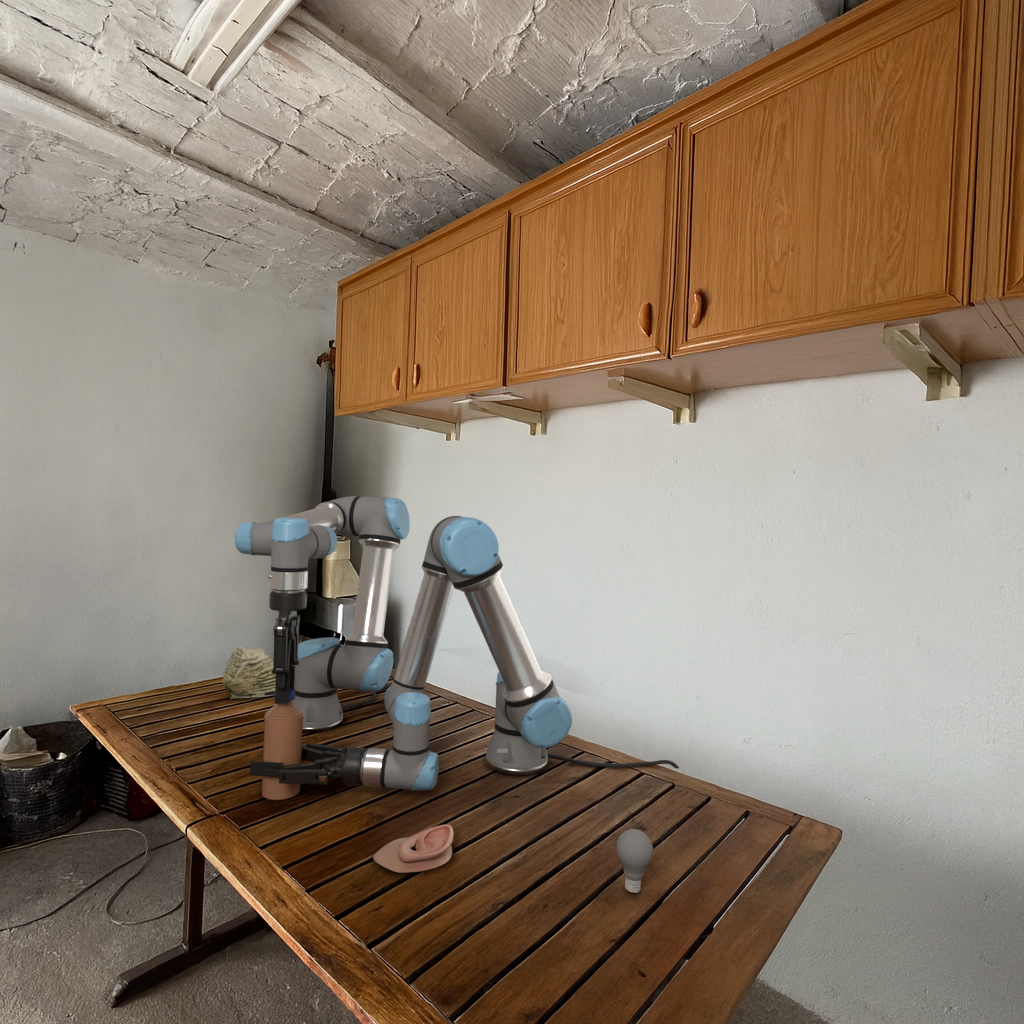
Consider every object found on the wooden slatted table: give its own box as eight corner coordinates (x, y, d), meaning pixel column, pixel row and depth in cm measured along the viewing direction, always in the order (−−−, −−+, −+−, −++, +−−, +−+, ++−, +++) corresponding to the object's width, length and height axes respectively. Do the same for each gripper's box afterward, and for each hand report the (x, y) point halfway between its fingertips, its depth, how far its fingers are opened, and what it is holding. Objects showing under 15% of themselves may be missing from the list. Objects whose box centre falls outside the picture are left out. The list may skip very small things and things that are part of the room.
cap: (286, 694, 138) (286, 687, 138) (299, 698, 136) (299, 690, 136) (269, 699, 134) (270, 691, 134) (283, 703, 132) (283, 695, 132)
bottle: (284, 780, 141) (287, 685, 140) (308, 789, 137) (311, 692, 136) (253, 793, 134) (257, 693, 134) (278, 803, 130) (281, 701, 130)
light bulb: (610, 879, 108) (613, 822, 108) (644, 879, 109) (647, 822, 109) (619, 902, 102) (622, 840, 102) (655, 901, 103) (658, 840, 103)
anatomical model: (366, 844, 109) (392, 812, 120) (365, 867, 109) (391, 833, 120) (440, 856, 106) (459, 823, 117) (439, 880, 106) (458, 844, 117)
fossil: (218, 695, 195) (220, 647, 195) (278, 685, 208) (279, 640, 207) (228, 703, 189) (230, 653, 188) (289, 692, 201) (290, 645, 201)
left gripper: (280, 584, 143) (276, 687, 143) (258, 596, 126) (254, 713, 126) (314, 585, 144) (310, 687, 144) (297, 597, 127) (293, 713, 127)
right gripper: (348, 808, 124) (235, 799, 125) (377, 764, 145) (280, 757, 146) (350, 770, 124) (237, 762, 125) (378, 731, 145) (281, 725, 146)
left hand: (284, 699), depth 135 cm, fingers closed on cap, 4 cm apart
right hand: (260, 759), depth 136 cm, fingers closed on bottle, 8 cm apart
